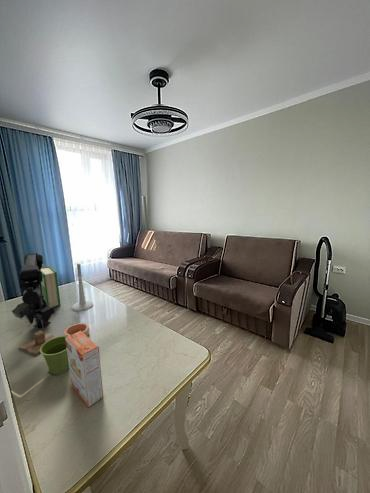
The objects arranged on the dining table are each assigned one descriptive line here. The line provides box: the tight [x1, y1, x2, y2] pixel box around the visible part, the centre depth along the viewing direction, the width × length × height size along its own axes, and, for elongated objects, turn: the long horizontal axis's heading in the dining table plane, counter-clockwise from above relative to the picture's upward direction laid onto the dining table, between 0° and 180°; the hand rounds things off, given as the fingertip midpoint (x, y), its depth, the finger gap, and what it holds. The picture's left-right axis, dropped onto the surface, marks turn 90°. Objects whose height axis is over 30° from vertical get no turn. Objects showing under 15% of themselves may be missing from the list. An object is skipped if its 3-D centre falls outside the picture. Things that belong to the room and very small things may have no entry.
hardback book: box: [41, 265, 61, 308], centre depth 141 cm, size 18×7×24 cm, turn 45°
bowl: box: [63, 322, 90, 337], centre depth 107 cm, size 11×11×4 cm
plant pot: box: [40, 335, 69, 376], centre depth 86 cm, size 12×12×11 cm
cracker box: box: [65, 331, 104, 409], centre depth 74 cm, size 14×6×21 cm, turn 49°
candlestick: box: [71, 263, 94, 312], centre depth 136 cm, size 13×13×30 cm
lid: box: [18, 330, 57, 356], centre depth 101 cm, size 12×12×6 cm
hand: (38, 325), depth 99 cm, fingers open, 9 cm apart
